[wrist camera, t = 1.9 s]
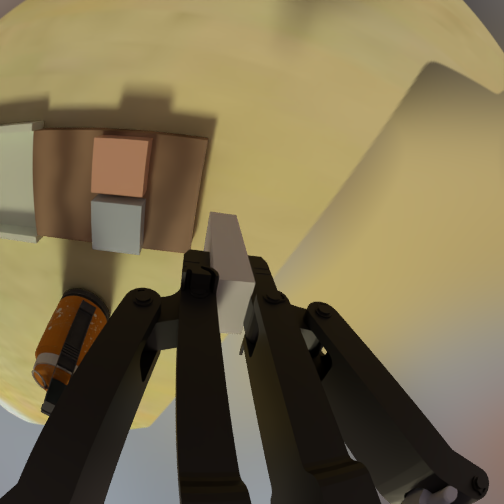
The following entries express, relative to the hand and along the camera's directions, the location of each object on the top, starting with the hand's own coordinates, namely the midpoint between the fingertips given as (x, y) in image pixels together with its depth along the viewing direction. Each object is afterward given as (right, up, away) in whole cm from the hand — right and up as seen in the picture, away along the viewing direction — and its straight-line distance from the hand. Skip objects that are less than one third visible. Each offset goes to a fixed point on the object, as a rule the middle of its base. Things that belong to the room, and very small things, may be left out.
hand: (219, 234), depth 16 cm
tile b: (-14, +3, +14) cm, 20 cm away
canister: (-24, -9, +22) cm, 34 cm away
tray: (-32, +9, +10) cm, 35 cm away
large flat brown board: (-15, +7, +14) cm, 22 cm away
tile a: (-12, +9, +11) cm, 19 cm away
